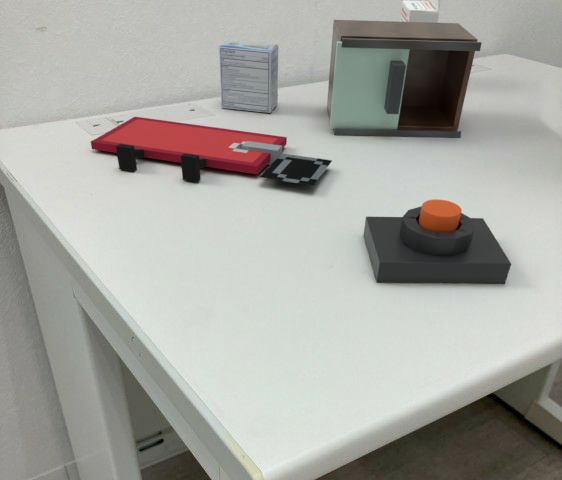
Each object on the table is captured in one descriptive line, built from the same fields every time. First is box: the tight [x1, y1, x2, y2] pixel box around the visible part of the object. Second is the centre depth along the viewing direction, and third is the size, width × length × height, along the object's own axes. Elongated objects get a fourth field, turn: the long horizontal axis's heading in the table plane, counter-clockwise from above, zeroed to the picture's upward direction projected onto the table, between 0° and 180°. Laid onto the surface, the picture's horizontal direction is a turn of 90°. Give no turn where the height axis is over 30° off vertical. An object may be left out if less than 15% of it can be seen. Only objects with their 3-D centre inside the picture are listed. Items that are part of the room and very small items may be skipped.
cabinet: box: [326, 19, 482, 138], centre depth 84 cm, size 18×12×12 cm, turn 92°
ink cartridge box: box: [399, 0, 441, 23], centre depth 99 cm, size 9×5×15 cm, turn 0°
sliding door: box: [329, 41, 410, 130], centre depth 79 cm, size 10×3×11 cm, turn 92°
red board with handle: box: [90, 116, 333, 186], centre depth 74 cm, size 30×3×15 cm
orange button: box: [419, 198, 462, 232], centre depth 55 cm, size 4×4×2 cm
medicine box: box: [218, 39, 279, 114], centre depth 88 cm, size 8×4×9 cm, turn 76°
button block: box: [363, 205, 512, 285], centre depth 56 cm, size 12×9×4 cm
